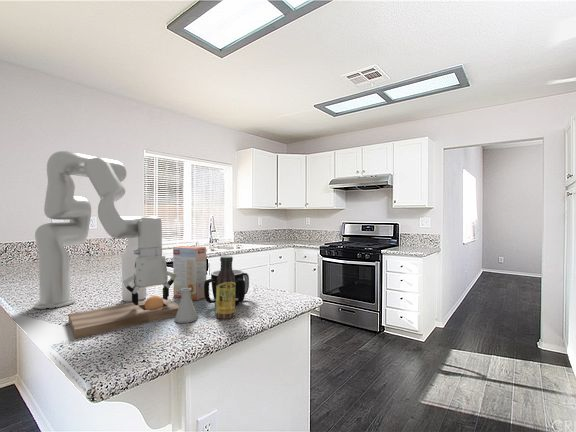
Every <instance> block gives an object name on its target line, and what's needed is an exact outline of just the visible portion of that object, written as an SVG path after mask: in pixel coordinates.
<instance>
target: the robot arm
mask: <svg viewBox="0 0 576 432" xmlns="http://www.w3.org/2000/svg"><path fill="white" fill-rule="evenodd" d="M46 176H47V185H46V191H45V199H44V200H45V201H44V206H43V207H44V208H43V209H44V210H43V211H44V216H46V217H47V219H48V218H49V219H51V220H59V222H46V223H43V224H41V225H39V226H38V227H37V228H36V230H35V232H34V238H35V243H36V247H37V252H38V271H39V272H38V275H39V276H38V280H39V281H38V283H39V285H38V287H39V288H38V289H39V294H38V295H39V301H37V302H36V303H35V302H34V304H33V305H34V308H35V309H37V310H39V309H40V310H44V309H45V310H46V308H49V309H54V308H55V307H56V308H61V307H65V306H69V305H72V304H74V303H75V302H76V298H75V297H71V258H70V255H69V252H68V251H67V250H66V248H65V247H70V246H71V247H72V246H78V245H82V244H83V243H85V242H86V240H87V238H88V236H89V235H88V234H89V230H90V224H91V223H90V222H91V216H92V206H91V202H90V201H89V200H88V199H87V198H85V197H83V196H79V195H75V189H76V185H75V181H74V180H73V178H72V176H79V177H85V178H88V179H89V181H90V182H91V184H92V186H93V188H94V189H95V192H96V193H97V195H98V196H99V198H100V199H99V203H98V206H97V217H98V219H99V223H101V225H102V227H103V229H104V230H105V232H106V233H107V235H109V236H110V238H113V239H117V240H123V239H128V238H135V237H138V249H137V250H134V254H137V255H138V257H136V261H135V268H134V275H132V276H130V277H129V278H127V279H125V280H124V281H123V284H124V286H125V287H126V289H128V290H129V291H130V292H132V302H131V303H134V305H138V302H139V301H138V293H137V291H138V290H139V288H140V287H146V288H148V287H154V286H155V287H156V286H161V285H162V286H163V287H162V297H163V299H165V300H168V299H169V296H170V288H171V286H173V285H174V280H175V278H176V274H173V273H172V272H171V271H168V266H167V261H166V256H165V255H164V254H163V242H162V241H163V236H162V235H163V234H162V233H163V232H162V231H163V230H162V223H163V222H162V218H160V217H158V216H121V214H119V212H118V210H117V208H116V206H115V202H117V201H119V200H121V199H122V198H123V197H124V195H125V194H126V188H125V187H124V185H123V184H122V182H124V181H125V179H126V178H127V169H126V166H125V165H124V164H123V163H122V162H120V161H118V160H114V159H110V158H105V157H97V156H94V155H89V154H84V153H80V152H74V151H67V150H65V151H64V150H62V151H61V150H60V151H56V152H54V153H52V154H51V155H50V156H49V158H48V159H47V163H46ZM60 220H63V221H64V220H69V221H67V222H63V221H62V222H60ZM168 277H170V279H169V280H168ZM132 280H134V284H135V285H134V286H133V288H132V287H130V285H129V282H131V281H132ZM56 308H55V309H56Z"/></svg>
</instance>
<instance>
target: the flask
mask: <svg viewBox="0 0 576 432" xmlns="http://www.w3.org/2000/svg"><path fill="white" fill-rule="evenodd" d="M180 291H181V293H182V296H181V298H180V303H179V304H178V305H179V308H178V311H177V314H176V316H174V320H173V322H174V323H178V324H187V323H189V322H190V323H192V322H194V321H197V320H198V318H199V315H198V313H197V310H196V308H195V306H194V303H193V300H191V295H190V291H191V288H183V289H181V290H180ZM190 323H189V324H190Z"/></svg>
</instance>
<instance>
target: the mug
mask: <svg viewBox="0 0 576 432" xmlns="http://www.w3.org/2000/svg"><path fill="white" fill-rule="evenodd" d="M220 270H221V269H220ZM220 270H216V271H213V272H211V273H210V278H209V279H208V278H207V279H206V281H205V283H204V296H205V298H204V299H205V300H206V302H207V303H208V304H214V303H215V304H216V285H217V276H218V274H219V272H220ZM232 271H233V273H234V275H235V306H236V305H239V304H240V303H243V301H244V300H245V297H246V296H245V295H246V294H247V293H248V290H249V287H250V278H249V277H250V276H249V274H248V273H246V272H244V270H241V269H232ZM210 283H211V288H212V295H213V298H212V299H211V297H210Z"/></svg>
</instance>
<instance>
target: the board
mask: <svg viewBox="0 0 576 432" xmlns="http://www.w3.org/2000/svg"><path fill="white" fill-rule="evenodd" d="M161 298H162V300H163V303H164V305H163V307H159V308H154V309H149V310H146V309H145V302H146V300H147V299H146V300H145V299H144V300H140V301H138V305H134V303H132V302H127V303H123V304H117V305H113V306H112V305H111V306H106V307H101V308H95V309H90V310H83V311H78V312H72V313H68V323H69V326H70V330H71V331H72V335H73V336H74V339H79V338H84V337H89V336H92V335H97V334H101V333H106V332H110V331H115V330H120V329H123V328H128V327H132V326H138V325H142V324H146V323H150V322H151V323H152V322H156V321H161V320H165V319H168V318H172V317H173V318H175V317H176V314H177V311H178V308H179V305H180V304H178V303H175V302H174V301H172V300H170V299H169V298H168V300H165V299H163V296H162V297H161Z"/></svg>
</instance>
